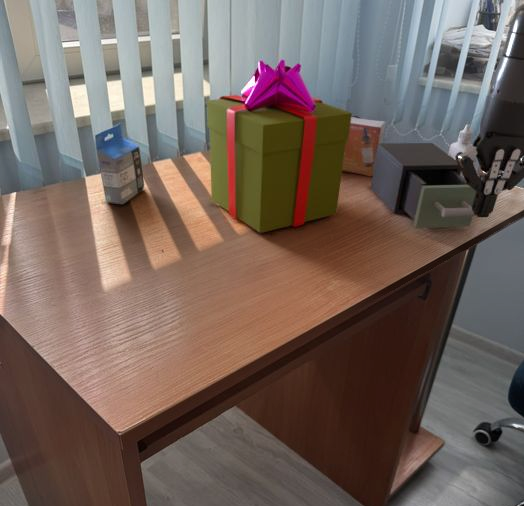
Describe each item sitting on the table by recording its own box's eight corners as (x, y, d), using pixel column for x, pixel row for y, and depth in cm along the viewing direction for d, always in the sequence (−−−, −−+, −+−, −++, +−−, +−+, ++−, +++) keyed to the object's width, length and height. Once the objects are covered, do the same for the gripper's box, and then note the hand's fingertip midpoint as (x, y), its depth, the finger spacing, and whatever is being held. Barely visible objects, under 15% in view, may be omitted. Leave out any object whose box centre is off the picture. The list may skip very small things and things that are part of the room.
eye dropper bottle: (461, 179, 116) (476, 122, 109) (464, 187, 112) (480, 129, 105) (441, 177, 117) (455, 120, 110) (443, 185, 112) (458, 127, 105)
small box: (337, 171, 117) (344, 121, 111) (344, 163, 122) (350, 116, 115) (372, 176, 115) (381, 126, 109) (377, 169, 120) (386, 120, 113)
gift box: (271, 182, 110) (277, 47, 95) (349, 213, 99) (370, 65, 83) (195, 206, 98) (188, 57, 83) (273, 244, 87) (282, 79, 72)
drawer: (482, 237, 90) (495, 197, 86) (426, 240, 88) (436, 198, 84) (440, 200, 103) (449, 163, 99) (390, 201, 102) (397, 163, 97)
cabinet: (450, 211, 101) (462, 164, 96) (393, 213, 99) (403, 165, 94) (422, 186, 112) (432, 142, 106) (370, 187, 110) (378, 143, 104)
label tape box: (122, 205, 98) (113, 137, 90) (103, 202, 98) (93, 134, 91) (145, 189, 104) (138, 125, 97) (127, 186, 105) (119, 122, 98)
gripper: (487, 100, 67) (451, 226, 77) (578, 101, 69) (532, 224, 79) (460, 88, 73) (430, 207, 83) (545, 89, 75) (506, 205, 85)
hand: (480, 215), depth 81 cm, fingers closed
